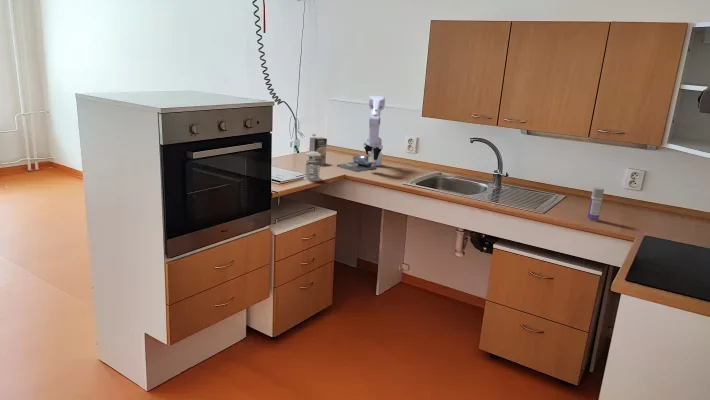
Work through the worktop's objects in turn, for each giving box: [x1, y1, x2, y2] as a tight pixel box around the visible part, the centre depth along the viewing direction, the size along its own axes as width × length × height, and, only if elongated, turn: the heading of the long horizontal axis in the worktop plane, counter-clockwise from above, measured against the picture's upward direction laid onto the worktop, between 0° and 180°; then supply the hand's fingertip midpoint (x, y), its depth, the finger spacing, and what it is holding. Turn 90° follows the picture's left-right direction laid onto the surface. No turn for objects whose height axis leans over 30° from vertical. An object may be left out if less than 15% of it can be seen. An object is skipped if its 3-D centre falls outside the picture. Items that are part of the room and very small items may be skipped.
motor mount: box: [336, 153, 377, 172], centre depth 326 cm, size 18×17×7 cm
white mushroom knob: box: [366, 151, 376, 162], centre depth 313 cm, size 7×6×6 cm
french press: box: [303, 133, 324, 182], centre depth 286 cm, size 10×12×25 cm
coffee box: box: [308, 137, 328, 165], centre depth 331 cm, size 9×6×16 cm
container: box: [587, 186, 605, 222], centre depth 241 cm, size 5×5×15 cm
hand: (372, 159), depth 314 cm, fingers closed on white mushroom knob, 5 cm apart
